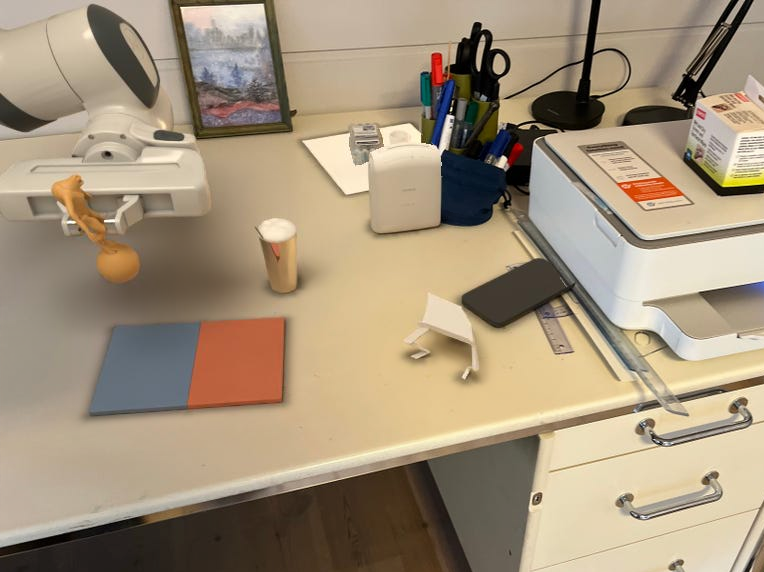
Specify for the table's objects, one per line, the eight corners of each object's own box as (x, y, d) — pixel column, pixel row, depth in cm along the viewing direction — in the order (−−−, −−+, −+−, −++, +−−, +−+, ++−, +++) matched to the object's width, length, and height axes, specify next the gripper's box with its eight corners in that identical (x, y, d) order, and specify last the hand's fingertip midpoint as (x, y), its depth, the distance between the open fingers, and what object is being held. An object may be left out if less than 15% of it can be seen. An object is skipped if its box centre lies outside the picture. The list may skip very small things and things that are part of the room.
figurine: (147, 299, 75) (123, 191, 68) (81, 309, 73) (48, 199, 65) (138, 254, 81) (115, 150, 73) (76, 262, 79) (46, 156, 71)
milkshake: (253, 290, 94) (241, 220, 88) (284, 271, 98) (275, 203, 91) (278, 303, 92) (269, 233, 86) (310, 284, 96) (303, 215, 89)
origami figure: (385, 345, 88) (384, 312, 84) (436, 316, 93) (437, 283, 89) (458, 398, 82) (460, 364, 79) (509, 363, 87) (513, 330, 83)
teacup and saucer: (382, 173, 119) (381, 149, 117) (362, 152, 125) (361, 128, 122) (431, 163, 123) (432, 140, 120) (410, 143, 128) (410, 120, 125)
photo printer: (373, 237, 105) (371, 155, 97) (367, 221, 108) (363, 140, 100) (444, 228, 108) (447, 148, 100) (435, 213, 111) (438, 134, 103)
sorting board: (90, 416, 76) (88, 411, 76) (116, 330, 87) (114, 326, 86) (281, 402, 80) (281, 398, 79) (284, 321, 90) (284, 317, 90)
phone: (457, 296, 94) (539, 255, 102) (457, 301, 95) (538, 260, 103) (497, 325, 91) (580, 280, 99) (497, 330, 91) (579, 285, 99)
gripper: (5, 136, 78) (-40, 203, 68) (210, 134, 82) (197, 197, 72) (25, 191, 82) (-14, 261, 72) (219, 186, 86) (208, 253, 76)
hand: (93, 229), depth 72 cm, fingers closed on figurine, 2 cm apart
